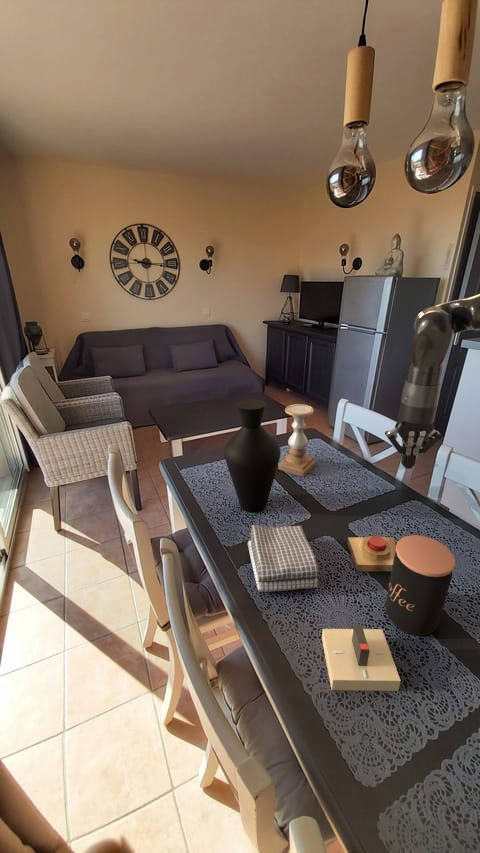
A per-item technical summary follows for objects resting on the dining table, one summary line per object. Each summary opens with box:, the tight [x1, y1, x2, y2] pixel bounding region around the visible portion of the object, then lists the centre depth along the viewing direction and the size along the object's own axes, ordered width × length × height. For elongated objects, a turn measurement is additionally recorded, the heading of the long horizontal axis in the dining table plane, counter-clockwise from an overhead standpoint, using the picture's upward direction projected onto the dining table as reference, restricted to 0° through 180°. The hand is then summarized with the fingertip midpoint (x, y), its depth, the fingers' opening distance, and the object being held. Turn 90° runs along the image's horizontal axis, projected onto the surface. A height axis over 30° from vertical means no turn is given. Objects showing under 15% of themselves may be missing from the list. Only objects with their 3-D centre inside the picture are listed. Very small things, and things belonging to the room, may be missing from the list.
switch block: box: [347, 535, 397, 572], centre depth 94 cm, size 12×10×4 cm
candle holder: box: [277, 403, 317, 478], centre depth 134 cm, size 11×11×24 cm
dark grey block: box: [352, 625, 369, 666], centre depth 68 cm, size 5×2×4 cm, turn 178°
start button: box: [368, 535, 386, 551], centre depth 93 cm, size 4×4×2 cm
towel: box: [247, 524, 320, 593], centre depth 92 cm, size 15×18×8 cm
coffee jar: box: [384, 534, 456, 637], centre depth 75 cm, size 11×11×18 cm
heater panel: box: [321, 628, 401, 692], centre depth 69 cm, size 12×10×3 cm
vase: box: [223, 398, 282, 514], centre depth 110 cm, size 17×17×35 cm
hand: (407, 466), depth 88 cm, fingers closed
